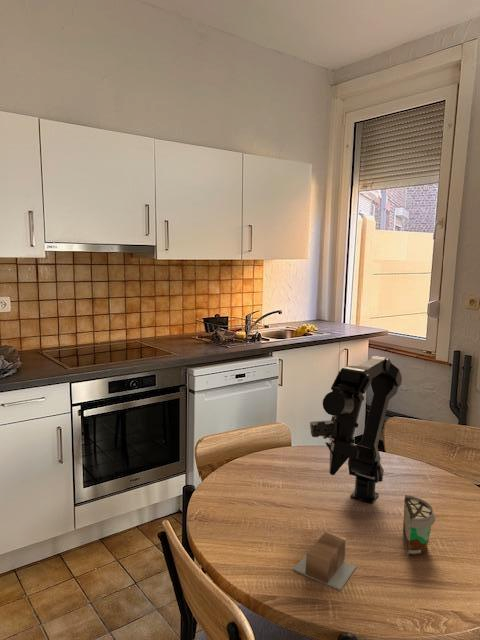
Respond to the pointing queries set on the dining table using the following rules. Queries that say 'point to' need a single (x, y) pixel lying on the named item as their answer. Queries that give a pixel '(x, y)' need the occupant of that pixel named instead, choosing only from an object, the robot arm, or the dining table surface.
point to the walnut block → (325, 557)
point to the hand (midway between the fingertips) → (331, 474)
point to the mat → (337, 579)
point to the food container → (417, 525)
